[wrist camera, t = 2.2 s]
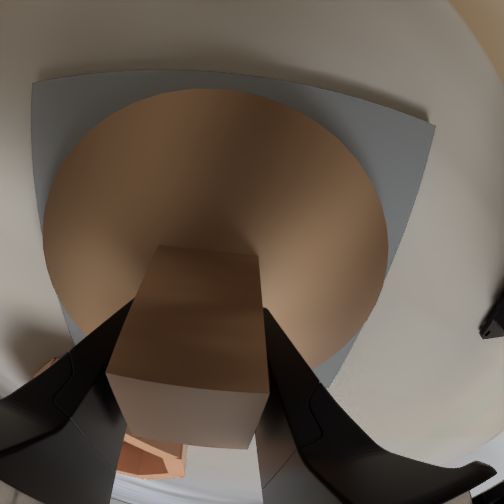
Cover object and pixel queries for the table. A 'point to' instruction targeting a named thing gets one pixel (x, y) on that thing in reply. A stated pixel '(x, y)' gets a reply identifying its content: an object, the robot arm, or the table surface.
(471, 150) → the table surface
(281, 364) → the robot arm
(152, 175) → the lid
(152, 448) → the bowl
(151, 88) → the mat
